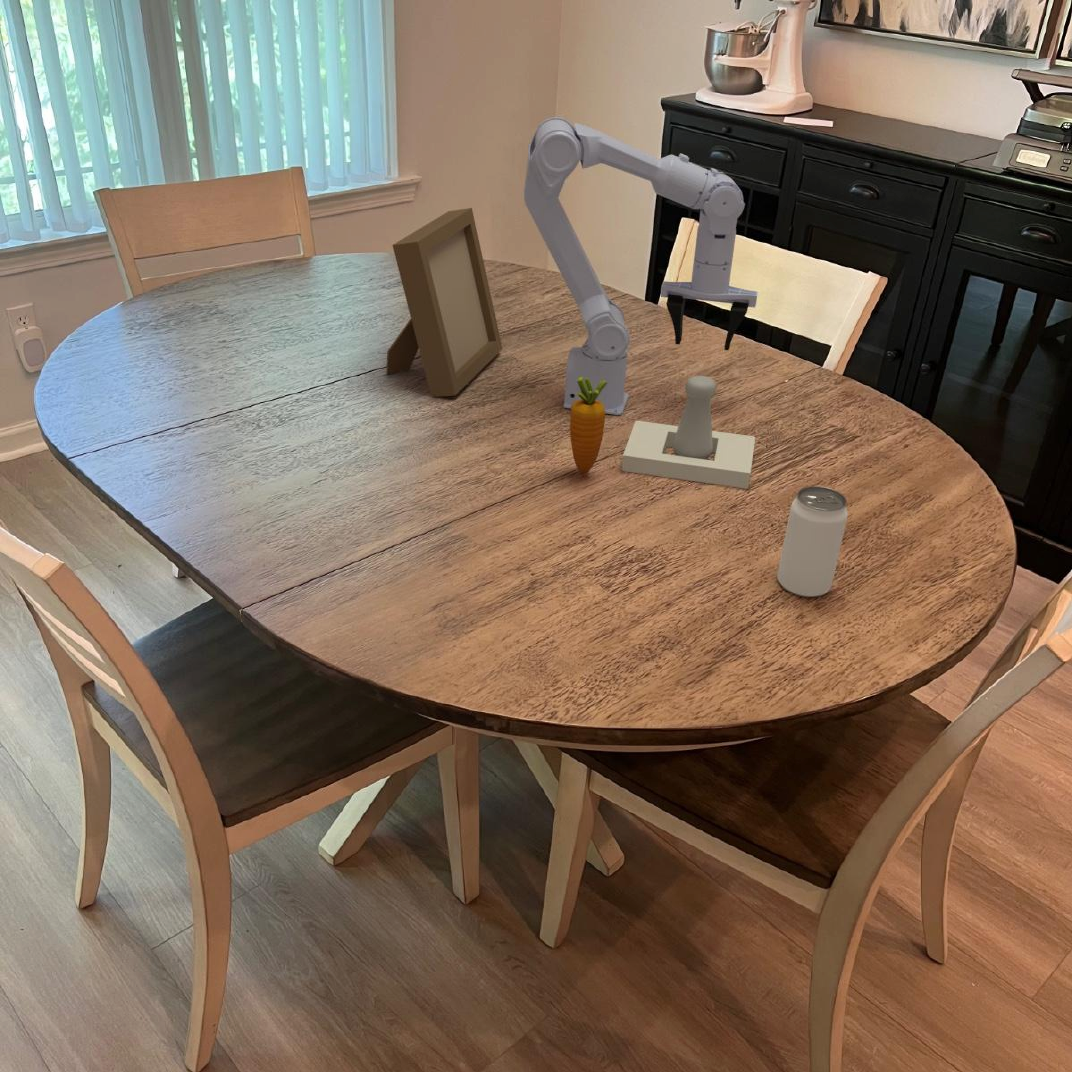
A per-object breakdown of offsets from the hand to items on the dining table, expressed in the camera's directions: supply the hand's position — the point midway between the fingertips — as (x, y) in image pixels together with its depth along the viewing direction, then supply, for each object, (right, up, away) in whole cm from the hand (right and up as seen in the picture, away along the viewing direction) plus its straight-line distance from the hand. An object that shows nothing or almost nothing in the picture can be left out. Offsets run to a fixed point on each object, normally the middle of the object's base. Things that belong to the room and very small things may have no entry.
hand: (702, 345), depth 163 cm
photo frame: (-43, -2, +14) cm, 45 cm away
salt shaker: (-4, -19, -11) cm, 23 cm away
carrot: (-20, -22, -16) cm, 33 cm away
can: (+6, -36, -37) cm, 52 cm away
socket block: (-4, -19, -11) cm, 23 cm away
